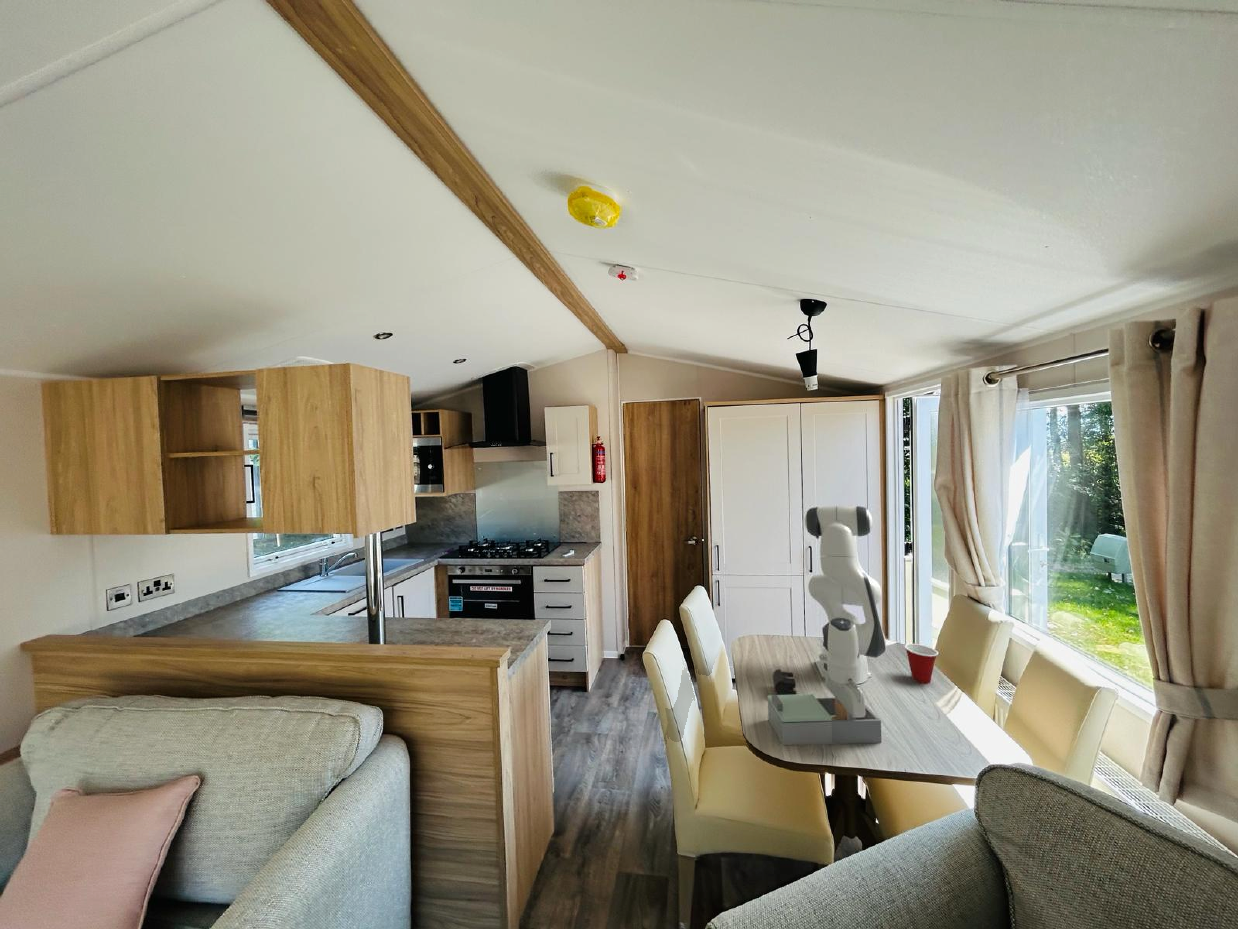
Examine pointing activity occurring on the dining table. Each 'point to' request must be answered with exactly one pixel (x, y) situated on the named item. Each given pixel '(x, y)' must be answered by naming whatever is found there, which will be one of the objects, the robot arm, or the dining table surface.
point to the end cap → (784, 683)
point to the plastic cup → (921, 661)
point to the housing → (827, 728)
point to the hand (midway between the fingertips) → (845, 717)
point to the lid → (798, 708)
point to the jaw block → (840, 711)
